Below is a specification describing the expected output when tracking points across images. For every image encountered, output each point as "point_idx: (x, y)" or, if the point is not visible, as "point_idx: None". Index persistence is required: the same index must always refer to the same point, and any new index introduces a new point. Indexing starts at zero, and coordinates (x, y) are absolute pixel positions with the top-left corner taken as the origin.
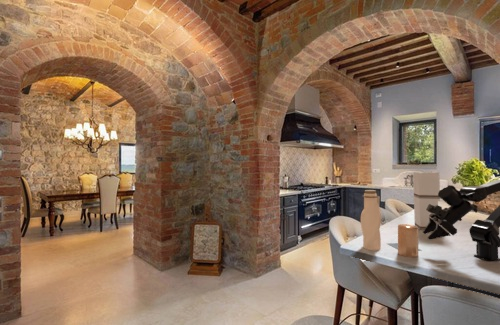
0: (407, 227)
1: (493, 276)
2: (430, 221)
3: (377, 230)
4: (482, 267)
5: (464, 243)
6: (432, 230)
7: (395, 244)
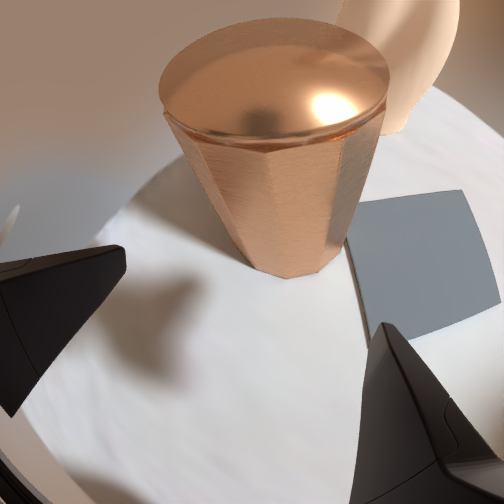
0: (223, 49)
1: (39, 432)
2: (462, 493)
3: (342, 24)
4: (111, 487)
5: None
6: (362, 453)
7: (463, 230)
